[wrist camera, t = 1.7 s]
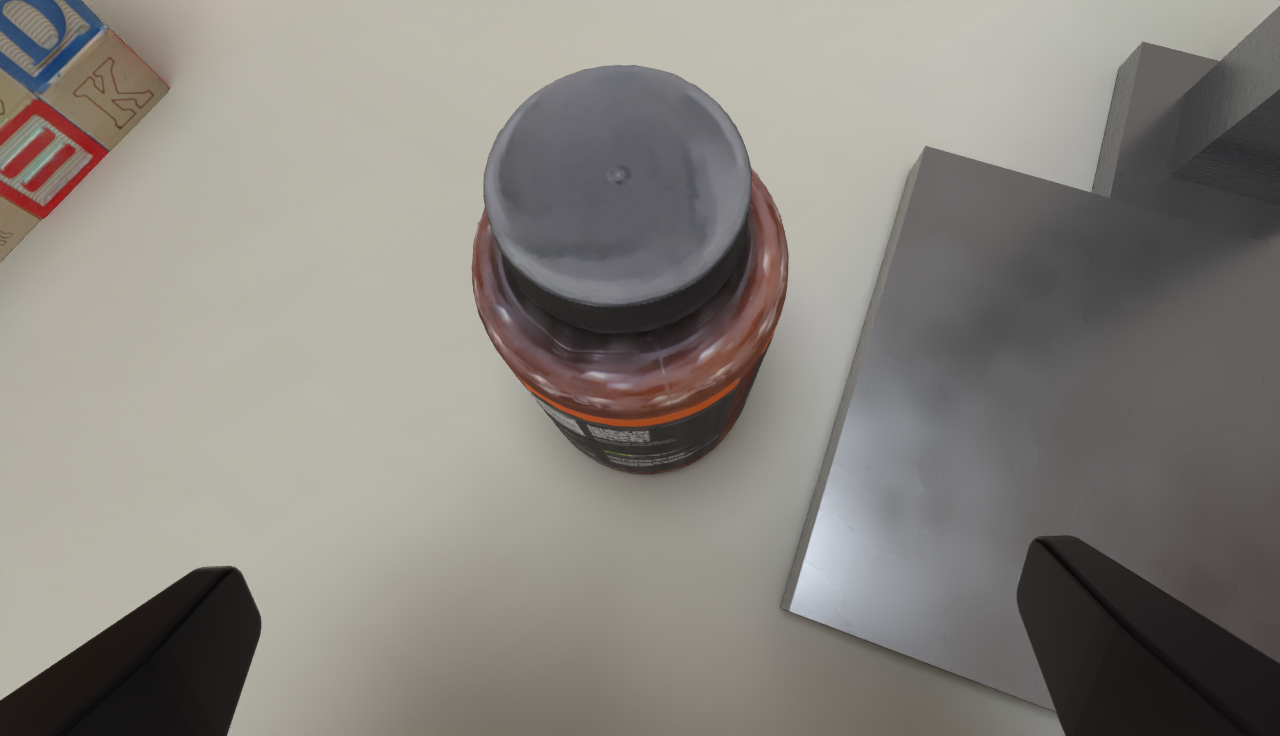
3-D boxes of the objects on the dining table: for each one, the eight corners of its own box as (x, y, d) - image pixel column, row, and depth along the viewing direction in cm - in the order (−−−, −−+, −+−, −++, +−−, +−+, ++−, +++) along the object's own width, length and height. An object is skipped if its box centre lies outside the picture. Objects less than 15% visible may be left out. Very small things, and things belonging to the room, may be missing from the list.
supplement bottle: (692, 255, 22) (717, -49, 11) (782, 425, 21) (910, 262, 10) (515, 332, 22) (363, 91, 11) (593, 512, 20) (505, 444, 9)
